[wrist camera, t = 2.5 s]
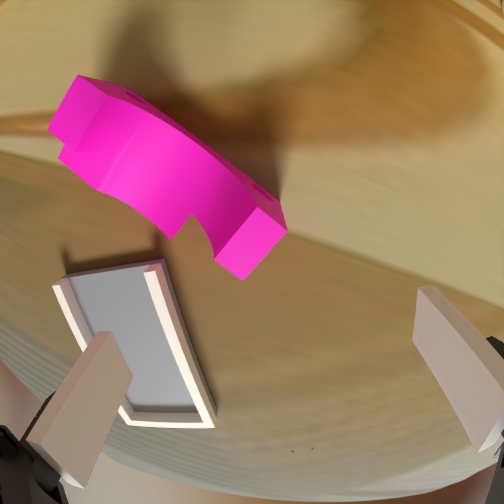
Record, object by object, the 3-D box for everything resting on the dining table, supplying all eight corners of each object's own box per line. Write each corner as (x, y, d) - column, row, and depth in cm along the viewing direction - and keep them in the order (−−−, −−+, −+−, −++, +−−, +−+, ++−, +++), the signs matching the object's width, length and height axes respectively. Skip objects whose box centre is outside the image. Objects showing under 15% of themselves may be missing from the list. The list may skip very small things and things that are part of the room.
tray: (65, 274, 26) (52, 285, 23) (164, 258, 25) (155, 270, 22) (133, 410, 32) (127, 424, 30) (217, 411, 31) (214, 427, 29)
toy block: (88, 152, 22) (31, 163, 15) (128, 88, 20) (77, 74, 13) (229, 260, 25) (216, 309, 18) (279, 201, 23) (287, 231, 16)
